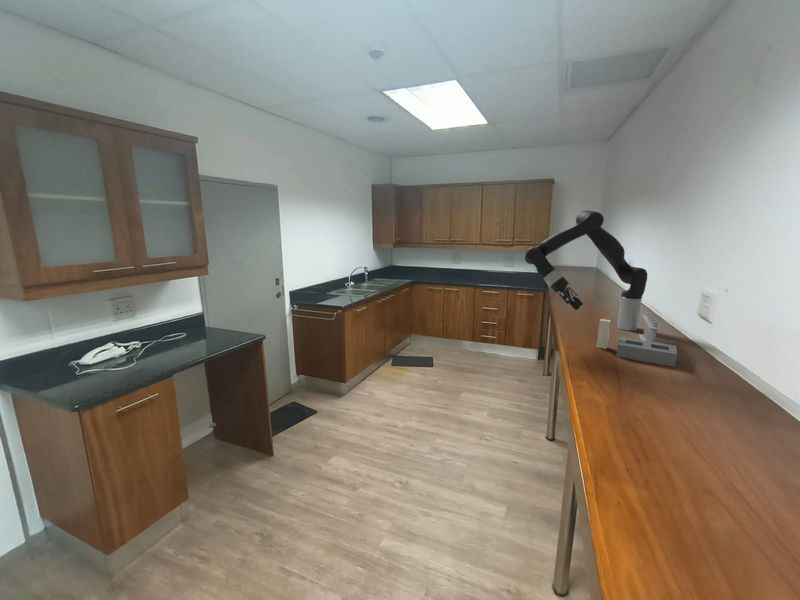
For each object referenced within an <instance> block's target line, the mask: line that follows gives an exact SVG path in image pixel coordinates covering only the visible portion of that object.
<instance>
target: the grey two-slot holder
mask: <svg viewBox="0 0 800 600" xmlns="http://www.w3.org/2000/svg"><path fill="white" fill-rule="evenodd" d="M615 355H616V356H615V357H618V358H622V357H623V358H624V359H627V358H628V359H629V360H634V361H638V362H644V363H648V364H649V363H651V364H654V363H655V364H656V365H660V364H661V366H665V365H666V366H667V367H670V366H671V368H676V365H677V363H676V362H677V358H678V357H677V356H678V350H677V345H675V344H669V343H668V344H667V343H662V342H656V341H655V342H650V341H644V340H641V339H636V338H630V337H624V336H620V337H619V341H618V342H617V348H616V354H615ZM628 359H627V360H628Z"/></svg>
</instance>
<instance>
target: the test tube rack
mask: <svg viewBox="0 0 800 600" xmlns="http://www.w3.org/2000/svg"><path fill="white" fill-rule="evenodd" d="M641 316H642V318H643V319H644V321H645V324H644V328H643V329H644V330H643V334H641V333H639V334H638V337H639V338H640V339H639V340H644V341H650V342H656V338H657V337H656V336H657V331H663V328H662V327H661V325H660V323H658V321H657V319H655V316H653V314H652V313H651V312H650V311H647V312H646V314H641Z"/></svg>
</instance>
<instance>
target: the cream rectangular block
mask: <svg viewBox="0 0 800 600" xmlns="http://www.w3.org/2000/svg"><path fill="white" fill-rule="evenodd" d="M610 328H611V319H605V318H604V319H603V318H600V319H599V325H598V333H597V340H596V348H598V349H603V350H604V349H605V350H607V348H608V343H609V336H610Z"/></svg>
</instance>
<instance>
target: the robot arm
mask: <svg viewBox="0 0 800 600" xmlns="http://www.w3.org/2000/svg"><path fill="white" fill-rule="evenodd" d="M604 219H605V218H604V216H603V214H602V213H601V212H599V211H595V210H582V211H580V212H579V213H577V216H576V218H575V224H576V225H574V226H572V227H569V228H567V229H565V230H562V231H558V232H557V233H555V234H553V235H550V236H549V237H547V238H545V240H543V241H541V243H540V244H538V245H537V246H532V247H529V248H528V249H527V251H526V253H525V254H524V261H525V262H526V263H527V264H529V265H534V267H535V268H536V272H537V273H538V274H539V276H540V277H541V278H542V279H543V281H544V282H545V283H546V284H547V285H548V287H550V289H551V290H552V291H553V292H554V293H556V294H557V293H559V294H558V295H559V296H560V297H561V299H562V300H563V301H564V302H565V303H566V304H567V305H570V306H571V307H572V308H573V309H574V311H577V310H579V309H580V307H582V306H583V305H584V303H583V302H582V300H580V298H579V297H578V296H579V295H578V294H577V293H576V292H575V291H574V289H573V288H571V286H568V285H570V282H569V281H568V280H567V279H566V278H565V277H564V276H563V275H562V274H561V273H560V272H559V270H557V269H556V268H555V267H554V266H553V264H551V263H550V261H549V260H548V259H547V256H548V255H549V254H553V252H556V250H559V249H560V248H561V247H564V245H567V244H568V243H570V242H572V241H574V240H577V239H579V238H582V237H583V236H585V235H586V236H587V237H588V238H589V239H590V240H591V242H592V243H593V245H594V246H595V247H596V248H597V250H598V251H599V252H600V254H602V256H603V257H604V258H605V260H607V262H608V263H609V265H611V267H612V269H614V271H615V273H616V274H617V277H618V278H619V279H620V281H622V282H623V283H624V284H627V285H629V288H628V289H626V290H622V291H621V295H620V301H619V302H620V304H619V310H618V317H617V325H616V328H618V329H619V330H623V331H629V332H631V331H632V332H633V331H637V330H638V326H639V319H640V313H641V307H642V301H643V300H642V299H643V295H644V293H645V290H646V286H647V282H648V272H647V270H646V269H645V268H642V267H637V266H636V267H635V266H632V265H630V264H629V263H628V262H627V260H626V259H625V248H624V246H623V245H622V244H621V243H620V241H619V240H618V239H617V237H615V236H614V235H612V234H611V233H610V232H608V231H607V230H605V229H604V228H603V227H602V226H603V223H604ZM567 286H568V287H567Z"/></svg>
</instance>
